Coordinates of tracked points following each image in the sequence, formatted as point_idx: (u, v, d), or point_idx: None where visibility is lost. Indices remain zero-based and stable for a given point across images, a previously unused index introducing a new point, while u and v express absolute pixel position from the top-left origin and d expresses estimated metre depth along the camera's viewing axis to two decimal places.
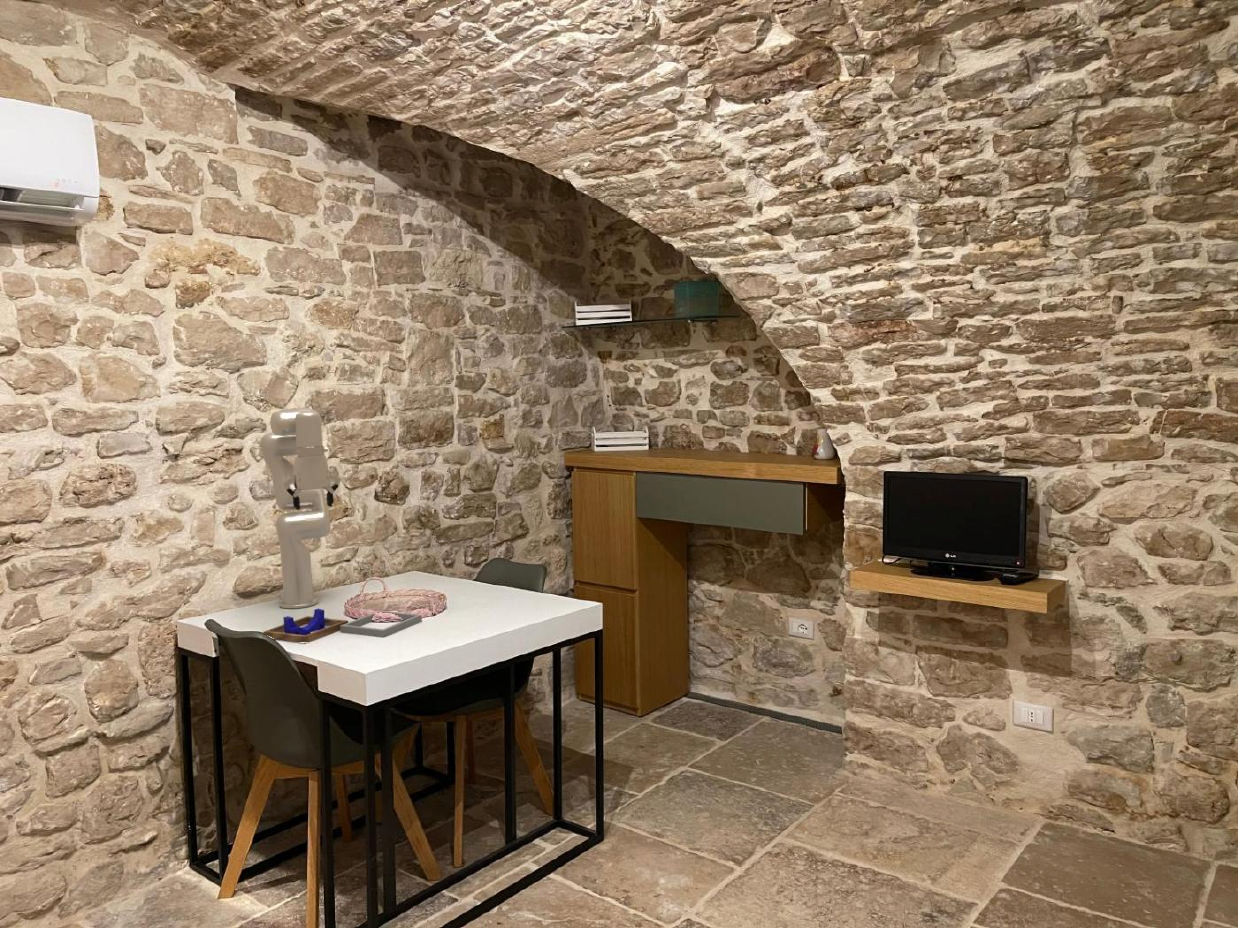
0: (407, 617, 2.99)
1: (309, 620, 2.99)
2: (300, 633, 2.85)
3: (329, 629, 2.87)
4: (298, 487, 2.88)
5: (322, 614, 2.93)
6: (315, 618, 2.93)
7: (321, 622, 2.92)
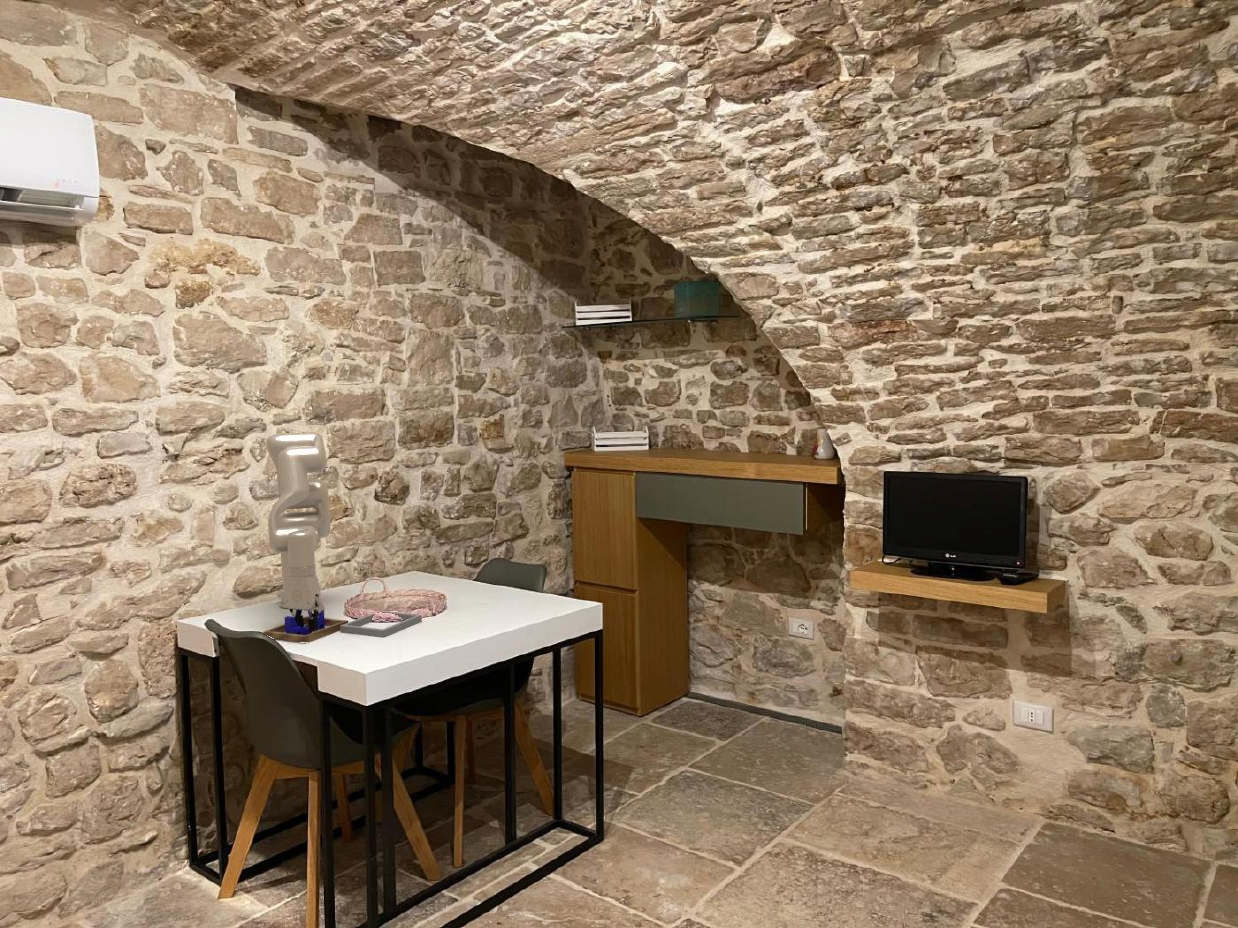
0: (407, 617, 2.99)
1: None
2: (302, 633, 2.85)
3: (329, 629, 2.87)
4: None
5: (322, 614, 2.93)
6: None
7: (321, 621, 2.93)
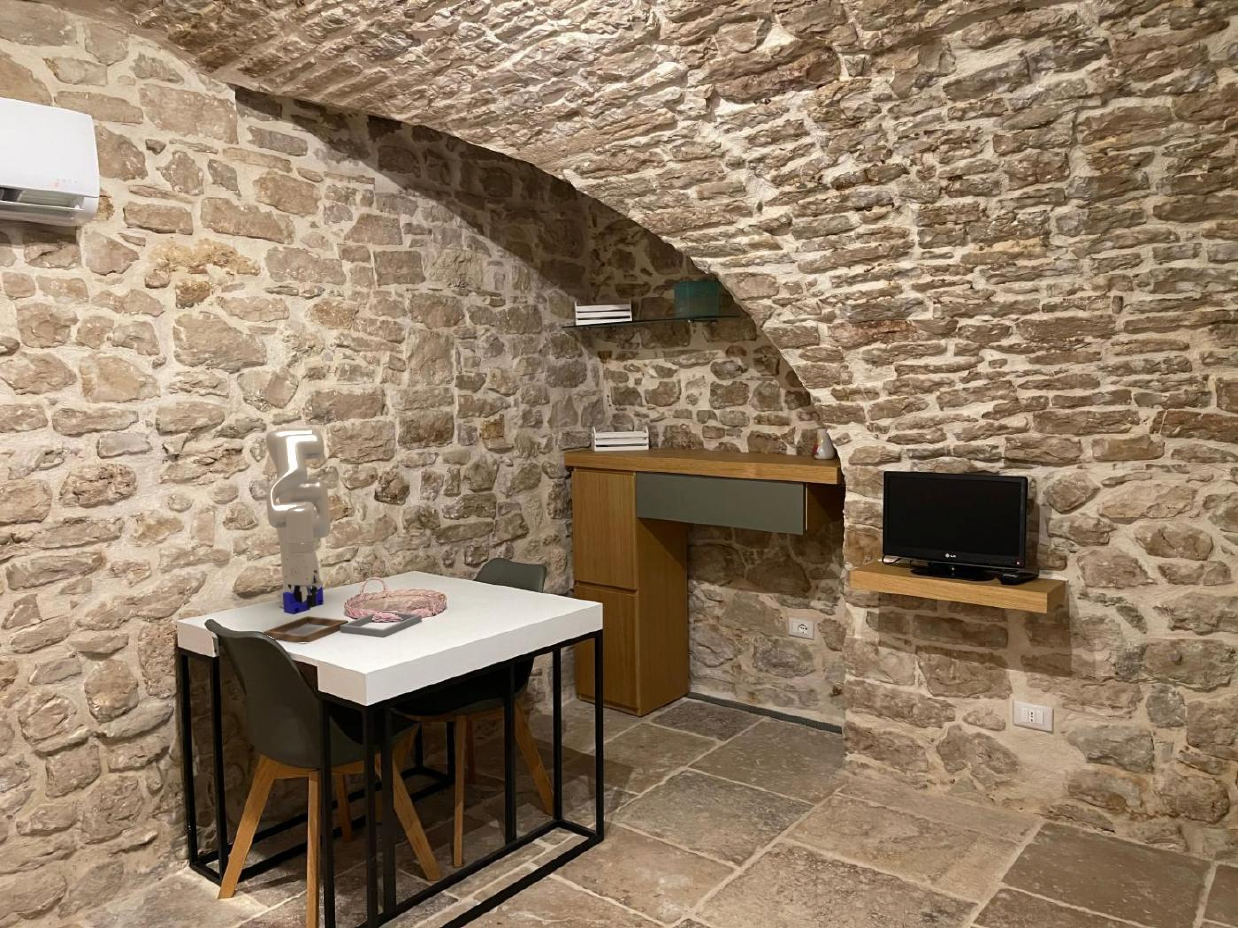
0: (407, 617, 2.99)
1: (309, 620, 2.99)
2: (300, 608, 2.85)
3: (329, 629, 2.87)
4: None
5: (320, 590, 2.93)
6: None
7: (319, 597, 2.92)
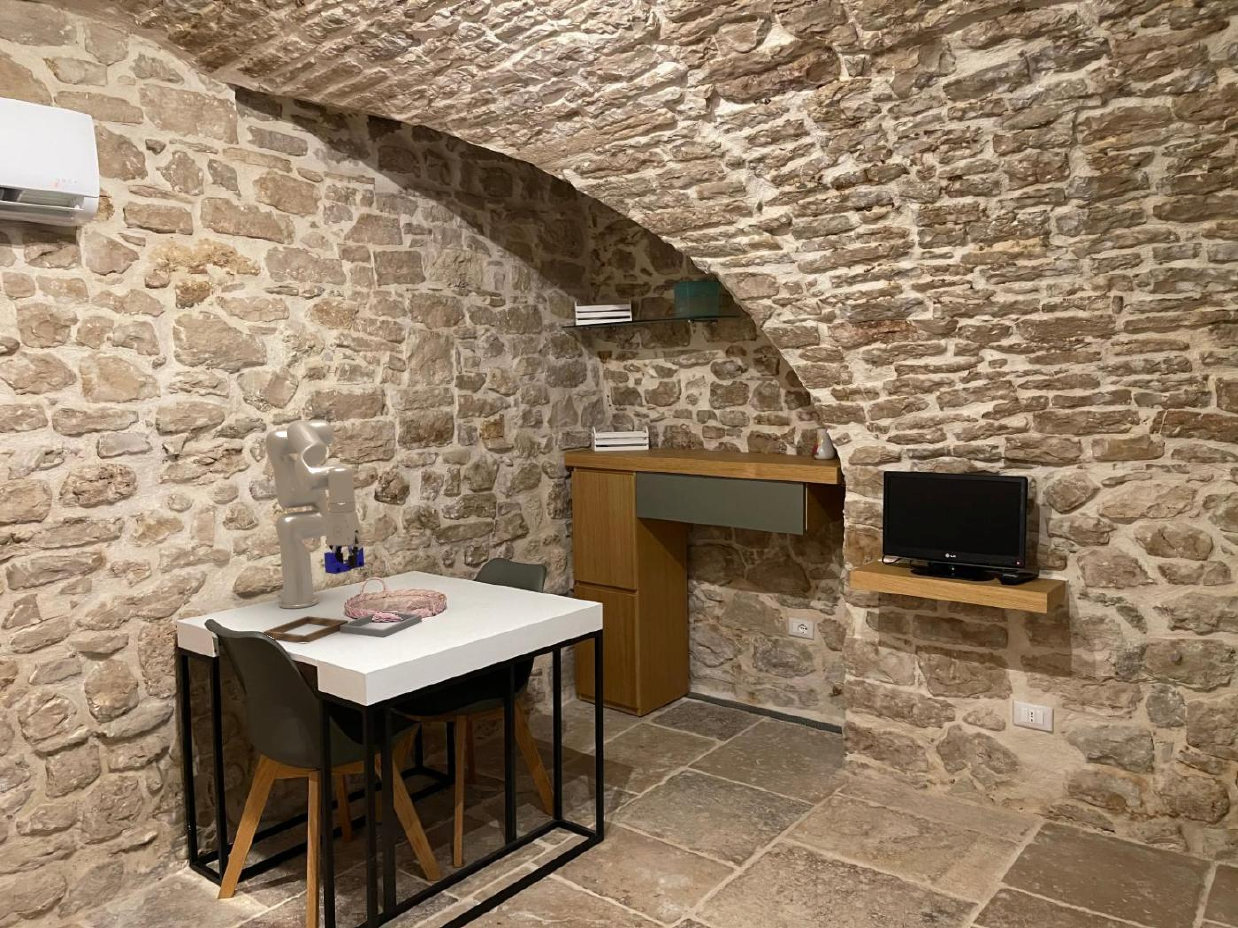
0: (407, 617, 2.99)
1: (309, 620, 2.99)
2: (341, 568, 2.85)
3: (329, 629, 2.87)
4: None
5: (361, 551, 2.93)
6: None
7: (360, 559, 2.93)
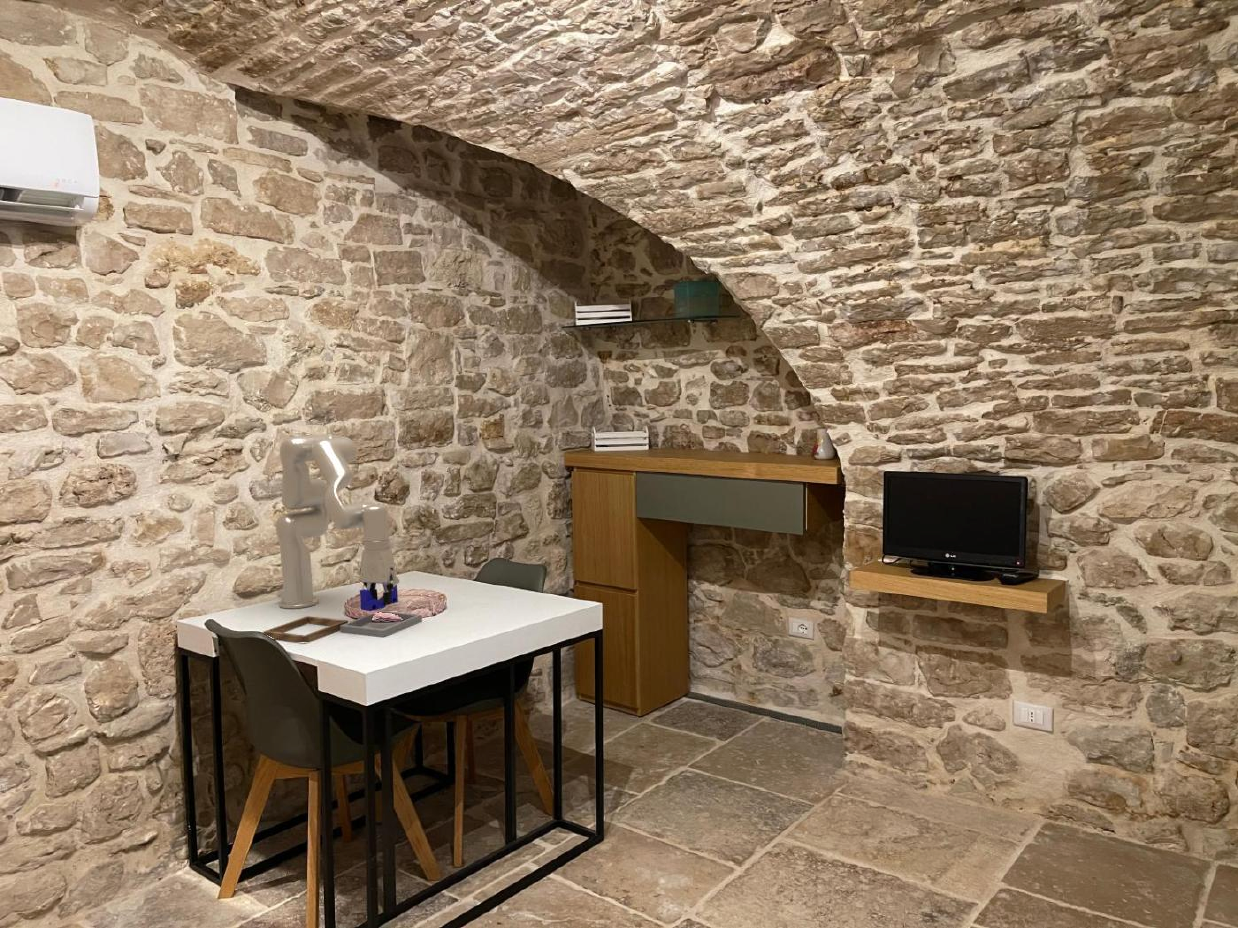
0: (407, 617, 2.99)
1: (309, 620, 2.99)
2: (377, 605, 2.88)
3: (329, 629, 2.87)
4: None
5: (395, 587, 2.96)
6: None
7: (394, 595, 2.96)
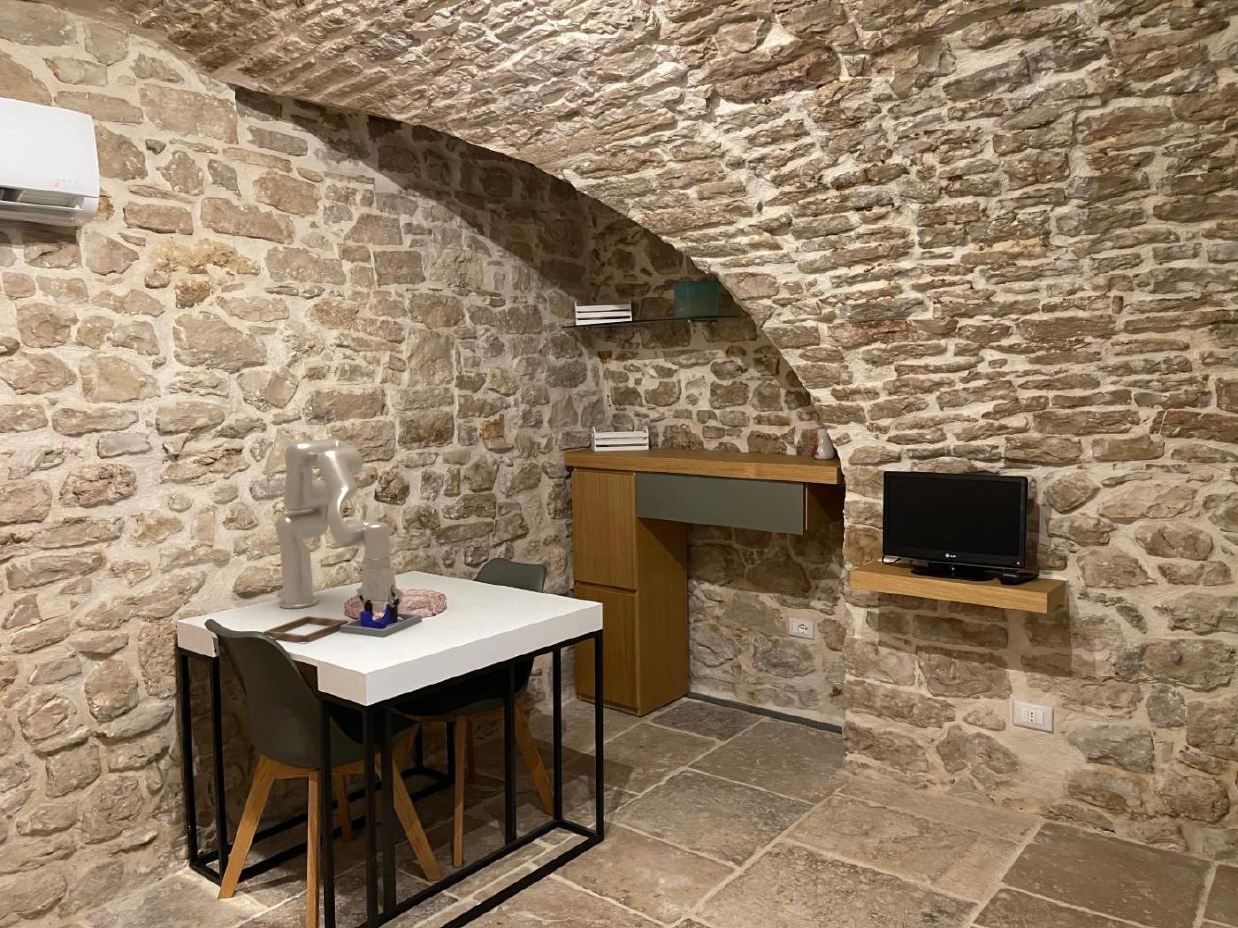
0: (407, 617, 2.99)
1: (309, 620, 2.99)
2: (377, 627, 2.89)
3: (329, 629, 2.87)
4: None
5: None
6: (388, 612, 2.97)
7: None
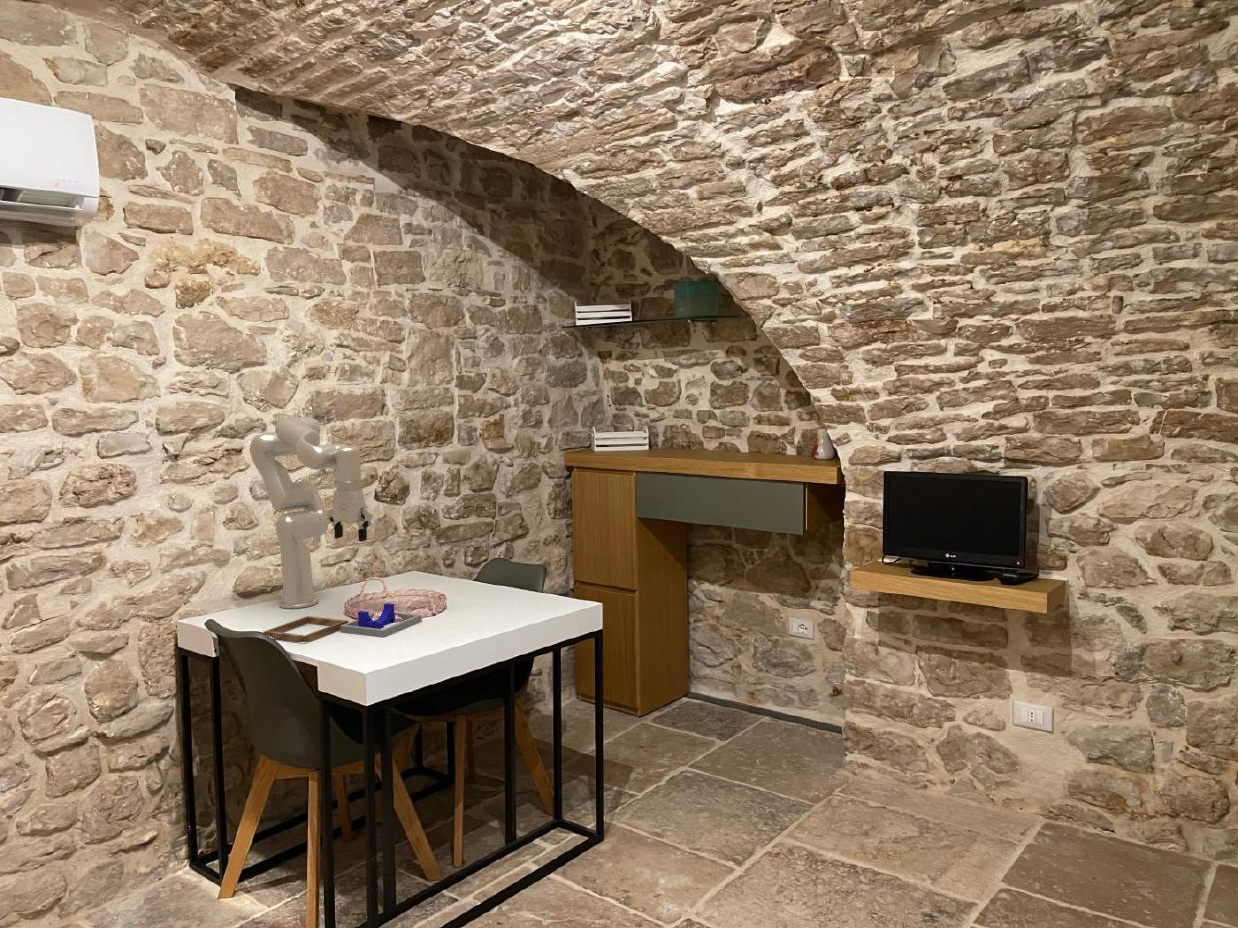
0: (407, 617, 2.99)
1: (309, 620, 2.99)
2: (375, 627, 2.90)
3: (329, 629, 2.87)
4: None
5: (392, 608, 2.97)
6: (385, 612, 2.97)
7: (391, 616, 2.97)
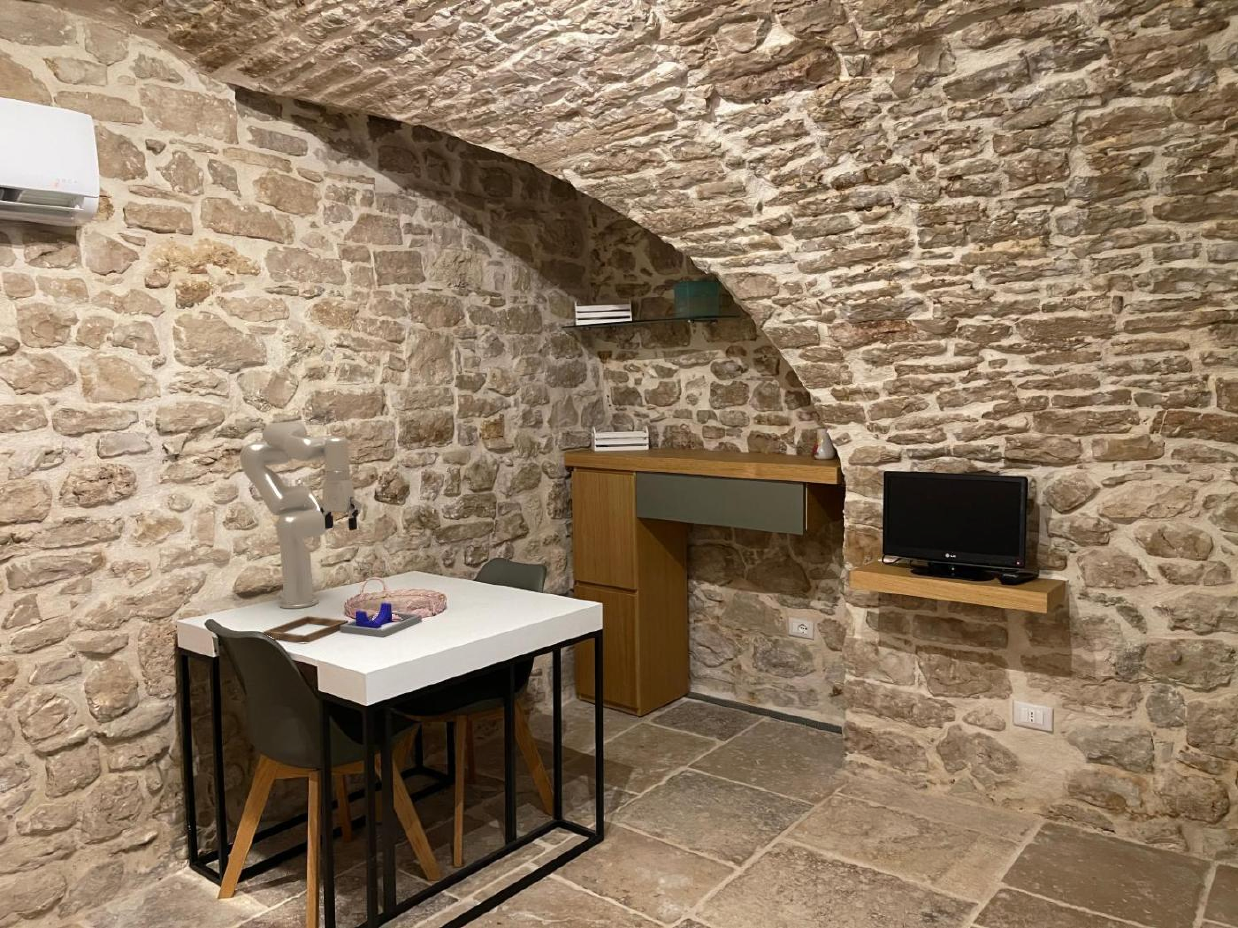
0: (407, 617, 2.99)
1: (309, 620, 2.99)
2: (373, 627, 2.90)
3: (329, 629, 2.87)
4: None
5: (390, 608, 2.98)
6: (383, 611, 2.98)
7: (389, 615, 2.98)
